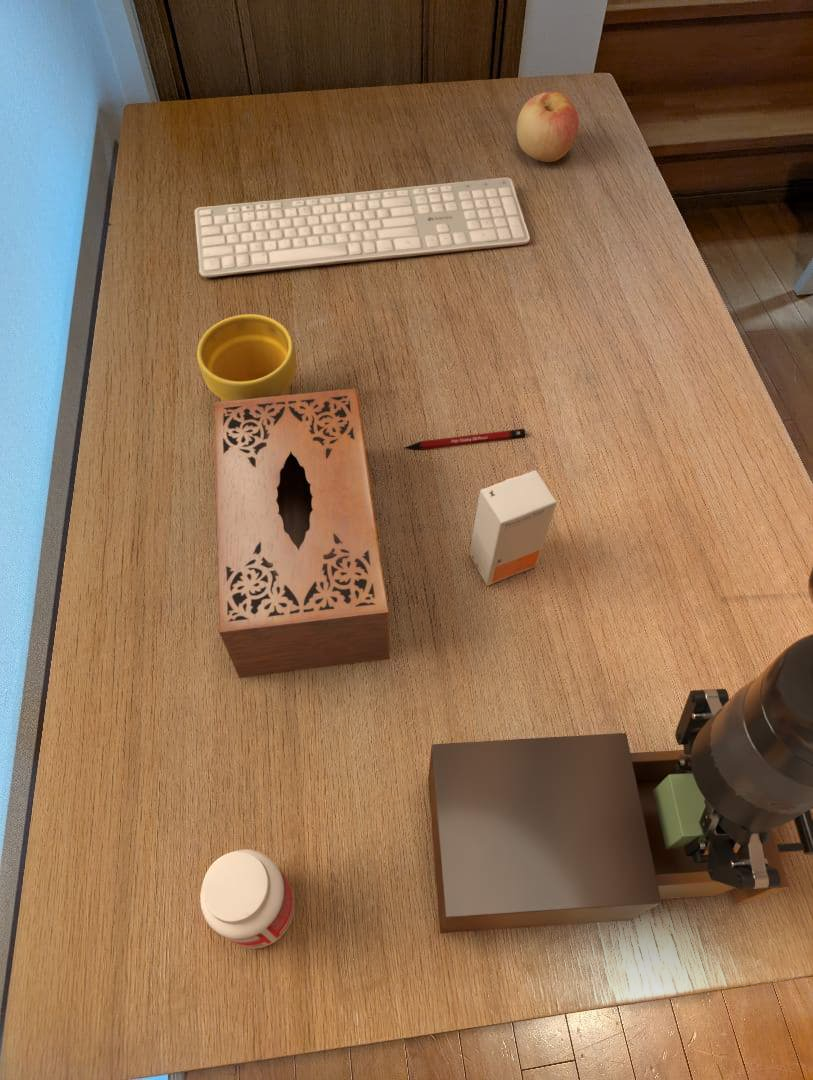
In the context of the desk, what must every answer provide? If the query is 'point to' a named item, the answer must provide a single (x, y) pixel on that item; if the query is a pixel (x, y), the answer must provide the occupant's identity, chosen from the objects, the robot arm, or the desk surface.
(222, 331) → the flower pot
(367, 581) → the tissue box cover
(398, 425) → the desk surface
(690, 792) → the block
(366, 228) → the keyboard
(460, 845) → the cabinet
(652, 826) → the drawer
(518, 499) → the cosmetic box
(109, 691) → the desk surface
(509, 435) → the pencil
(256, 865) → the pill bottle
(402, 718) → the desk surface
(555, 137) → the apple
